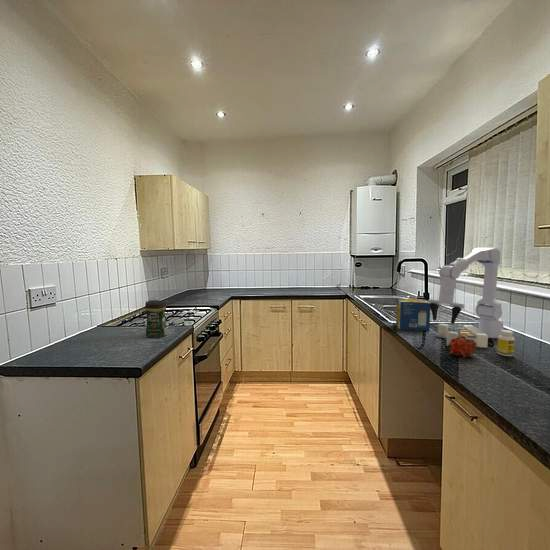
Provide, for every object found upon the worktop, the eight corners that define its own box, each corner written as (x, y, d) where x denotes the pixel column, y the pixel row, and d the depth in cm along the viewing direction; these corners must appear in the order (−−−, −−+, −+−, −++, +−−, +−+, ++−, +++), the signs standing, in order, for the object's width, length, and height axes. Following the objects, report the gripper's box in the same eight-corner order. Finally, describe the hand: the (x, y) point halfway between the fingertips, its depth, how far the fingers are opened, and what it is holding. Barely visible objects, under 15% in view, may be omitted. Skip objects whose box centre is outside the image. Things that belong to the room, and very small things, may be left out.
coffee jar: (143, 338, 153) (142, 301, 151) (150, 334, 161) (149, 299, 159) (162, 338, 152) (161, 301, 151) (169, 334, 160) (167, 299, 159)
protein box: (395, 325, 176) (396, 298, 174) (424, 326, 173) (425, 299, 171) (399, 329, 165) (399, 301, 164) (430, 331, 162) (431, 302, 161)
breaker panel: (471, 336, 152) (472, 325, 152) (487, 347, 135) (487, 334, 134) (455, 335, 154) (456, 324, 154) (468, 346, 137) (469, 333, 136)
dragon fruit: (479, 360, 124) (449, 364, 125) (468, 343, 130) (439, 347, 131) (485, 348, 118) (454, 352, 119) (474, 330, 125) (443, 334, 126)
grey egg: (456, 344, 139) (456, 331, 139) (459, 347, 135) (459, 334, 135) (445, 344, 140) (445, 331, 140) (448, 347, 136) (448, 333, 136)
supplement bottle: (509, 357, 123) (510, 333, 122) (494, 353, 127) (495, 330, 127) (516, 355, 125) (517, 331, 124) (501, 351, 130) (502, 328, 129)
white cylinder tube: (446, 335, 154) (446, 323, 153) (449, 338, 149) (449, 326, 149) (436, 335, 155) (437, 323, 154) (439, 337, 151) (439, 325, 150)
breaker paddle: (468, 334, 144) (468, 332, 144) (470, 335, 141) (470, 333, 141) (459, 333, 144) (460, 331, 144) (461, 335, 142) (461, 332, 142)
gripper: (427, 289, 142) (423, 318, 143) (461, 294, 131) (458, 325, 132) (433, 290, 147) (429, 318, 147) (467, 294, 136) (463, 324, 137)
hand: (443, 321), depth 140 cm, fingers open, 7 cm apart
